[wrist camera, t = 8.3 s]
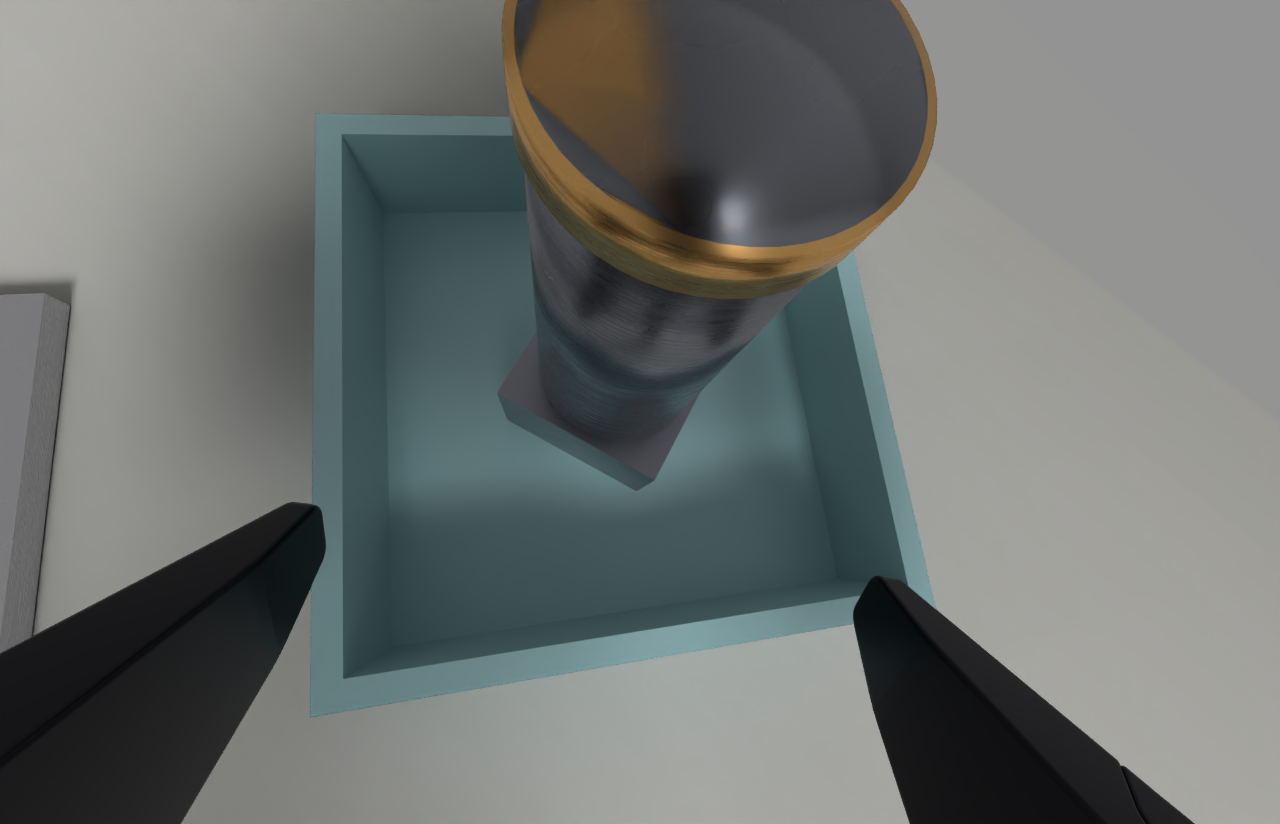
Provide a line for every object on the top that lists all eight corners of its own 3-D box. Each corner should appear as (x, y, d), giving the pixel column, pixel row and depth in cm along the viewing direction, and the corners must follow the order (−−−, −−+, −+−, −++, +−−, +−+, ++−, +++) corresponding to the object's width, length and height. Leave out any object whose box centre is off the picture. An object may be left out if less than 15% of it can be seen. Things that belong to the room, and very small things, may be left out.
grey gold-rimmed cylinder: (636, 491, 16) (854, 361, 4) (507, 420, 16) (384, 94, 4) (699, 370, 17) (998, 22, 6) (580, 303, 17) (636, -190, 6)
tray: (848, 594, 17) (936, 609, 13) (375, 670, 14) (309, 717, 10) (771, 202, 20) (823, 121, 16) (368, 208, 17) (315, 113, 13)
